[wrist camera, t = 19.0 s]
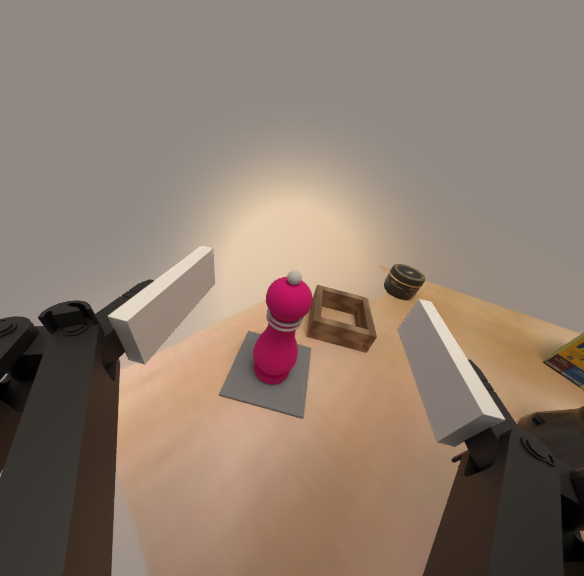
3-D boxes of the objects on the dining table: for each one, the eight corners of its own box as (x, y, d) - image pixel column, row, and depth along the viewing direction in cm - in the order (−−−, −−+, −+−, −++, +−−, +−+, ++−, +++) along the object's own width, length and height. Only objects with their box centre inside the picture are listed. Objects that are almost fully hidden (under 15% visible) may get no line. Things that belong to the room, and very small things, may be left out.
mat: (310, 349, 41) (310, 347, 41) (302, 418, 31) (303, 417, 30) (248, 332, 41) (248, 330, 41) (219, 395, 31) (219, 394, 31)
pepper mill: (254, 392, 32) (273, 291, 20) (248, 353, 37) (260, 255, 26) (297, 383, 34) (336, 289, 23) (285, 347, 40) (311, 257, 28)
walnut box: (359, 312, 54) (367, 298, 51) (366, 352, 43) (376, 337, 41) (312, 299, 54) (317, 284, 51) (307, 336, 44) (313, 320, 41)
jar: (418, 296, 67) (432, 277, 63) (403, 304, 62) (416, 284, 57) (392, 280, 73) (403, 261, 69) (376, 285, 67) (386, 265, 63)
